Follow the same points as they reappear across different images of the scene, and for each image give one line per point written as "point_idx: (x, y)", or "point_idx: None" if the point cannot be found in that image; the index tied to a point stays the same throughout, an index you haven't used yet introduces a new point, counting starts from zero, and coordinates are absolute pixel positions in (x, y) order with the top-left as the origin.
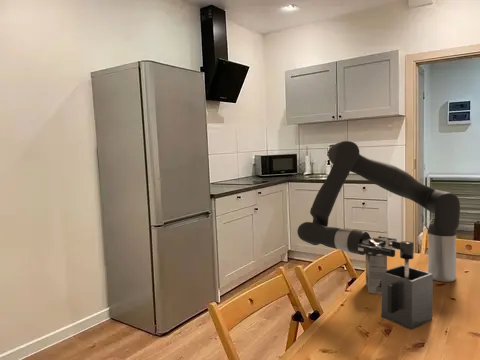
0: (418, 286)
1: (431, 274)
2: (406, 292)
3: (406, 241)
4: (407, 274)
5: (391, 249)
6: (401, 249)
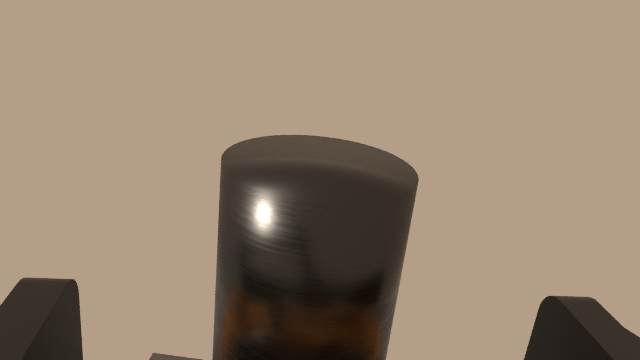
0: None
1: (171, 357)
2: None
3: (248, 171)
4: None
5: (606, 313)
6: (397, 277)
